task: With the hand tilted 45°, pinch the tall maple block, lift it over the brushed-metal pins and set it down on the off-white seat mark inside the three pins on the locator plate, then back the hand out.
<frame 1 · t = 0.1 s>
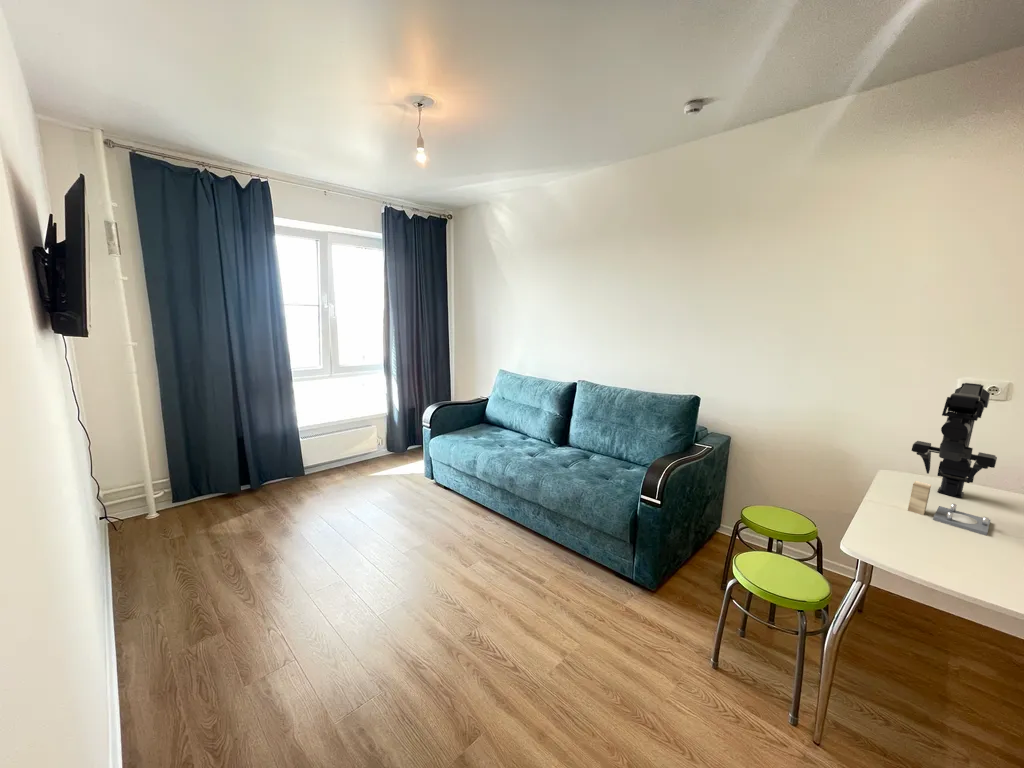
hand: (947, 477, 136), 14 cm above the table, tool pointing down, fingers open, 9 cm apart
maple block: (916, 510, 144), on the table
locator plate: (961, 521, 137), on the table
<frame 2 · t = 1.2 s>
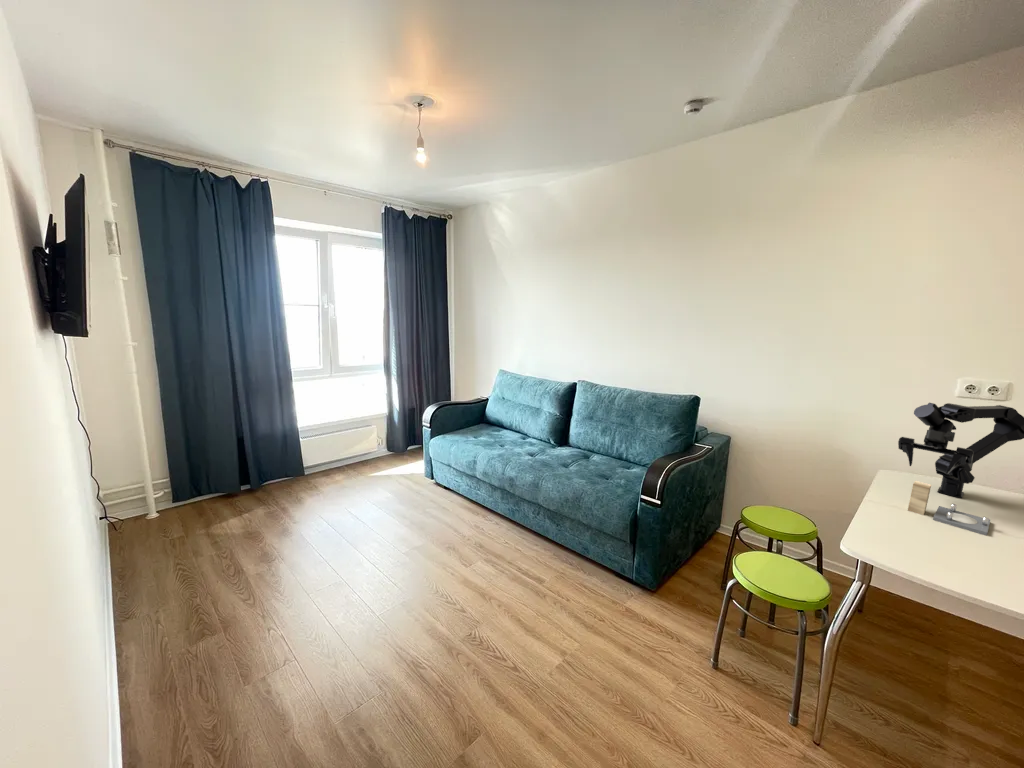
hand: (928, 469, 145), 13 cm above the table, tool tilted 45°, fingers open, 9 cm apart
nothing on the table moved.
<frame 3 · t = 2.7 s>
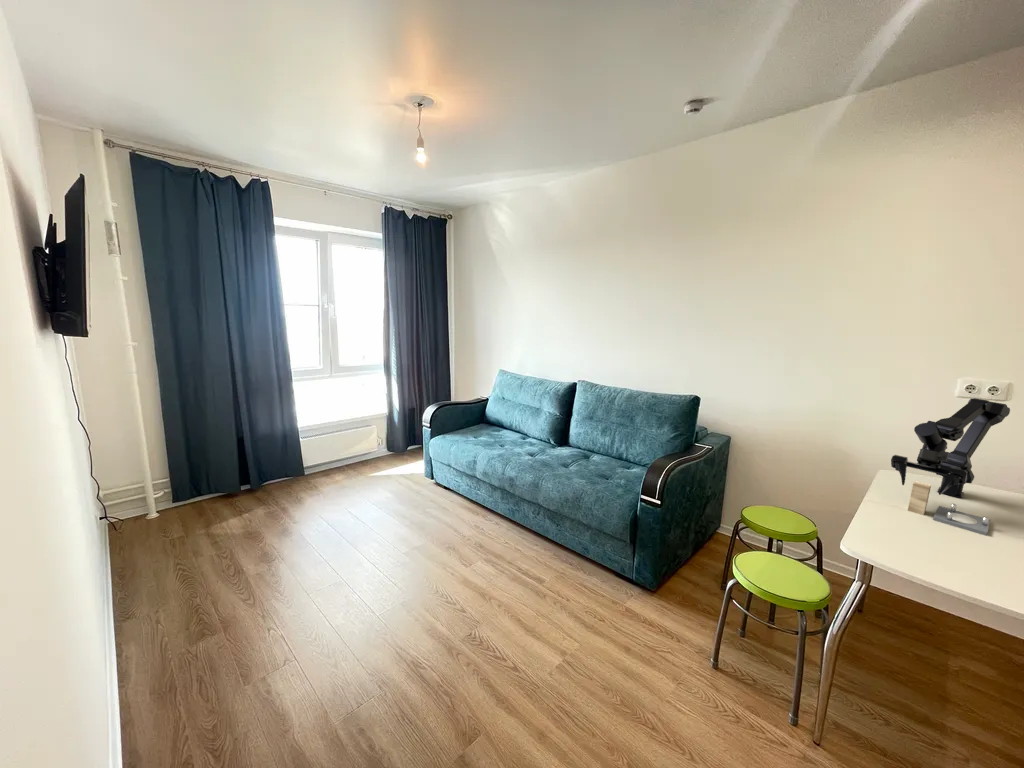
hand: (920, 489, 142), 8 cm above the table, tool tilted 45°, fingers open, 9 cm apart
nothing on the table moved.
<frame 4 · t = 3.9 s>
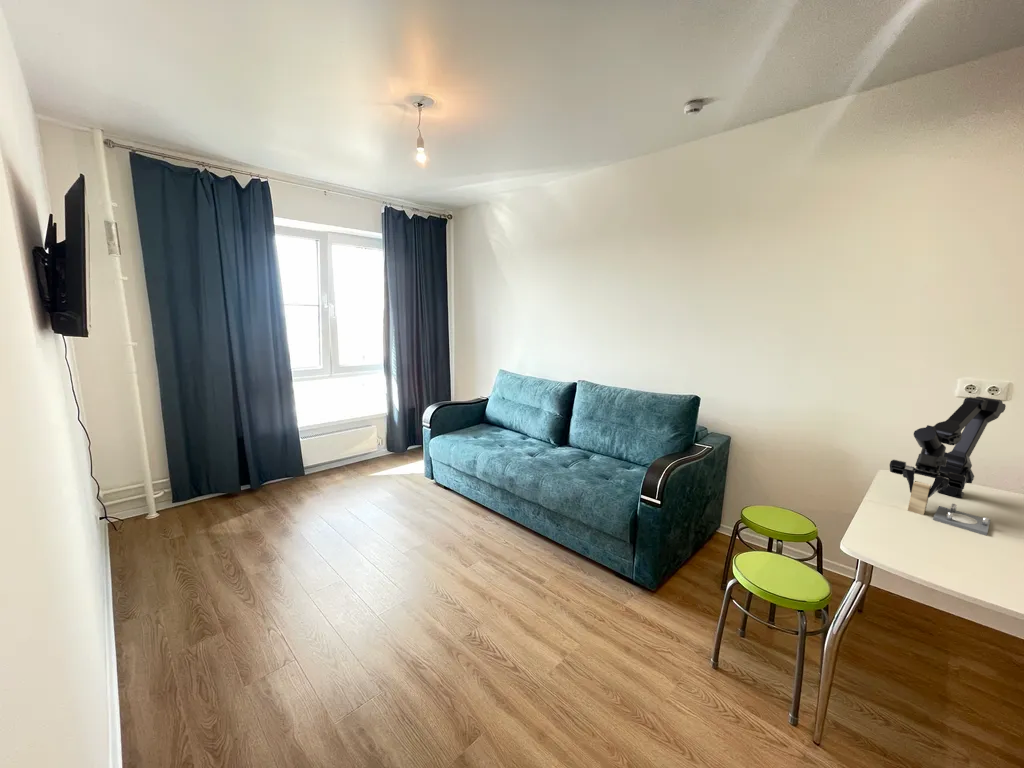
hand: (919, 494, 141), 7 cm above the table, tool tilted 45°, fingers closed on maple block, 4 cm apart
maple block: (916, 510, 144), on the table, touching gripper
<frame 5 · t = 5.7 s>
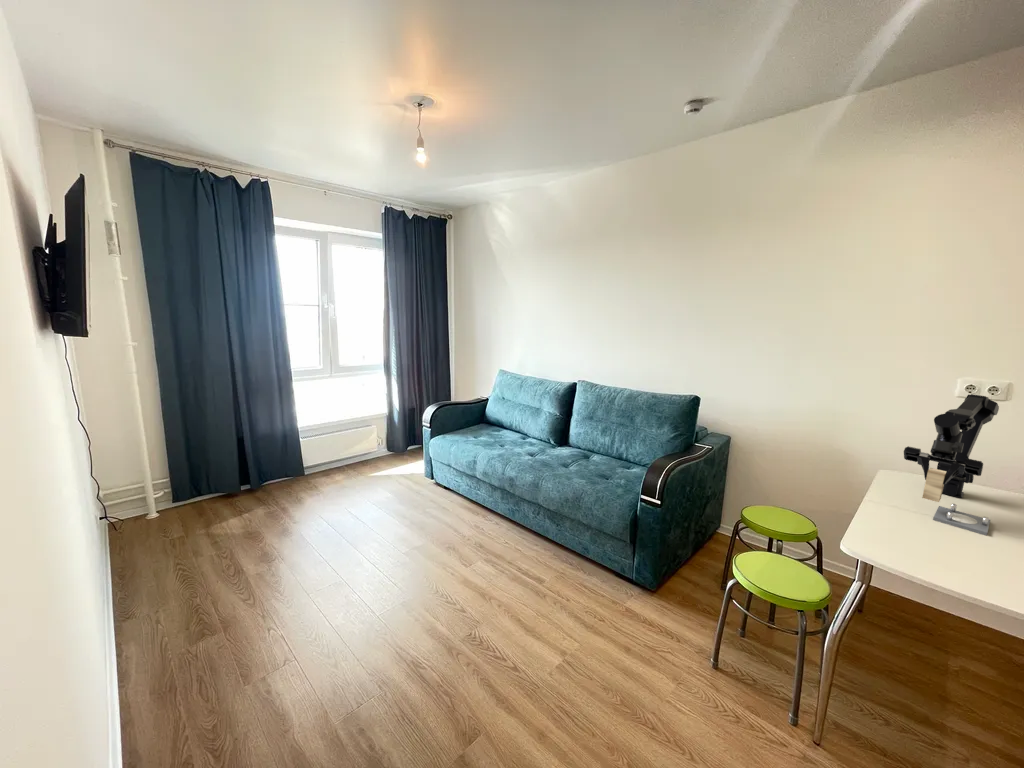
hand: (934, 481, 138), 12 cm above the table, tool tilted 45°, fingers closed on maple block, 4 cm apart
maple block: (931, 498, 141), point 6 cm above the table, touching gripper
when the fingers open (9 cm above the table, at t = 7.4 s): maple block drops 1 cm, resting on locator plate.
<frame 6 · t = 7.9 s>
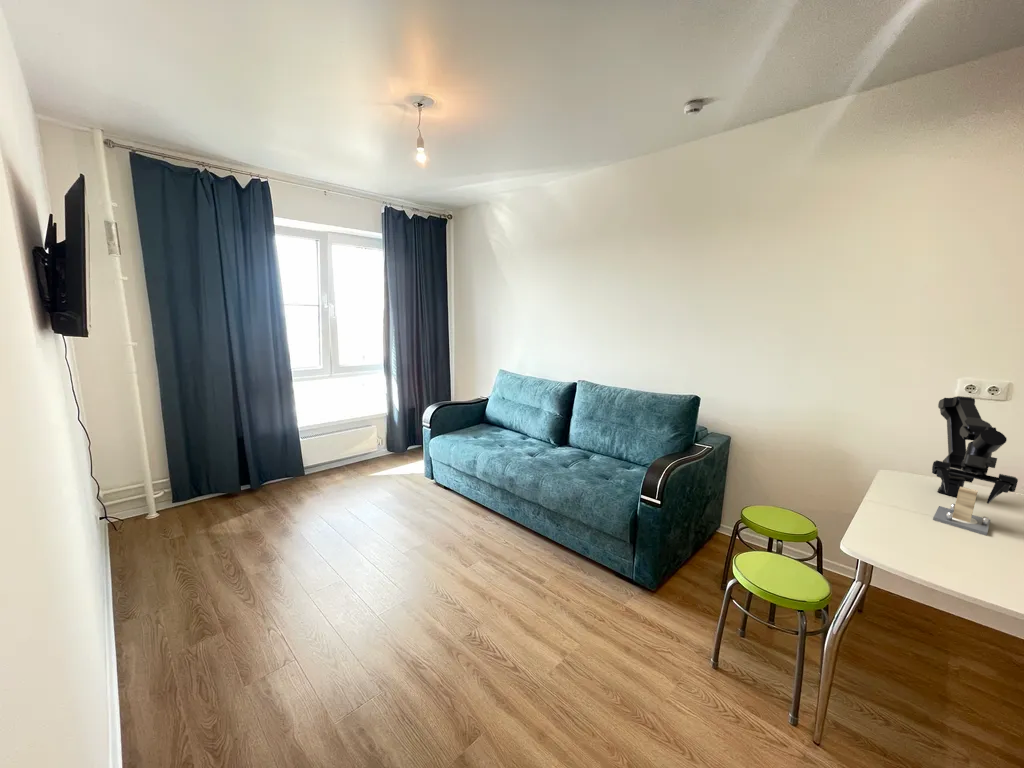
hand: (966, 497, 134), 9 cm above the table, tool tilted 45°, fingers open, 9 cm apart
maple block: (961, 518, 136), point 1 cm above the table, touching locator plate
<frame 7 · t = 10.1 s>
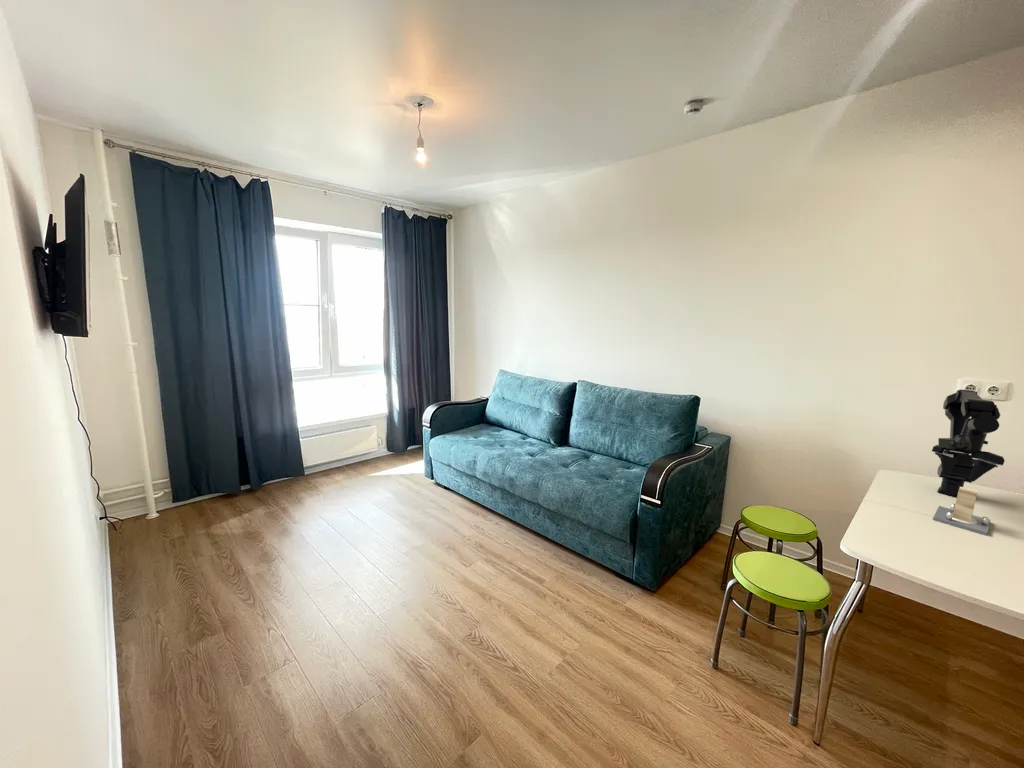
hand: (957, 478, 141), 12 cm above the table, tool tilted 25°, fingers open, 9 cm apart
nothing on the table moved.
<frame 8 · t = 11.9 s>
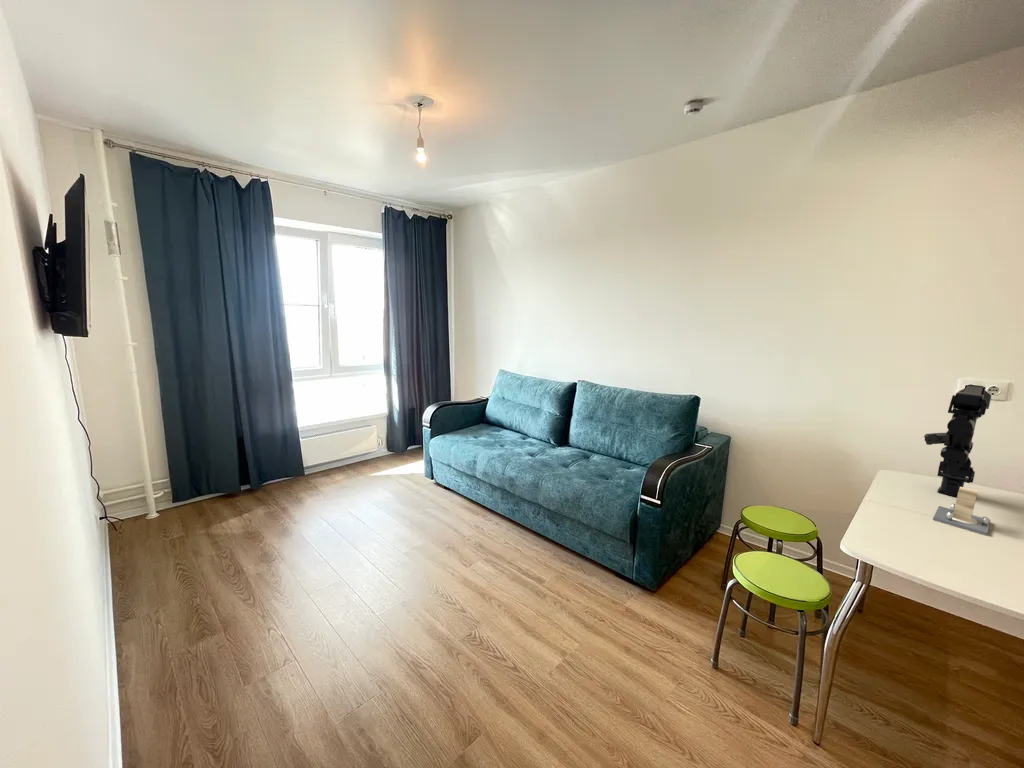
hand: (952, 471, 144), 13 cm above the table, tool pointing down, fingers open, 9 cm apart
nothing on the table moved.
at the end: maple block 0.0 cm off-centre on the locator plate, point 1.1 cm above the locator plate's base; maple block tilted 0°; the gripper is holding nothing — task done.
